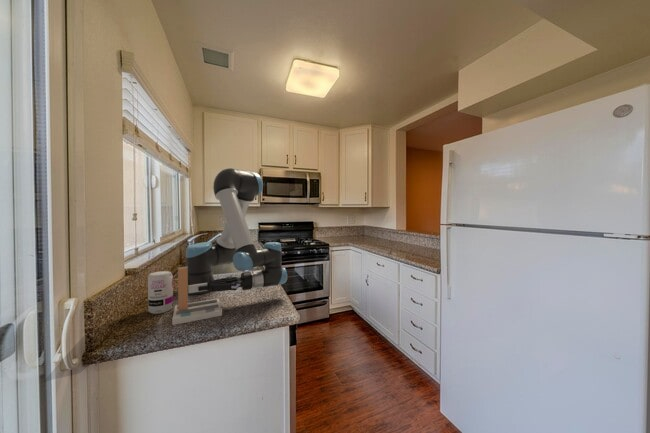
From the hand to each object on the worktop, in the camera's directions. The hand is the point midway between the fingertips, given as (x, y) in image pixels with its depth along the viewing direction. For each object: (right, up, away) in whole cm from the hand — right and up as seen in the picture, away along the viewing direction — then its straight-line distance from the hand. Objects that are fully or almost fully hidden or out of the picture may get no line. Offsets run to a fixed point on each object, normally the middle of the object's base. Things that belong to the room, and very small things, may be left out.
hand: (188, 289), depth 90 cm
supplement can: (-14, -10, +5) cm, 18 cm away
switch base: (+3, -10, +2) cm, 10 cm away
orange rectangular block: (-2, -8, 0) cm, 8 cm away
